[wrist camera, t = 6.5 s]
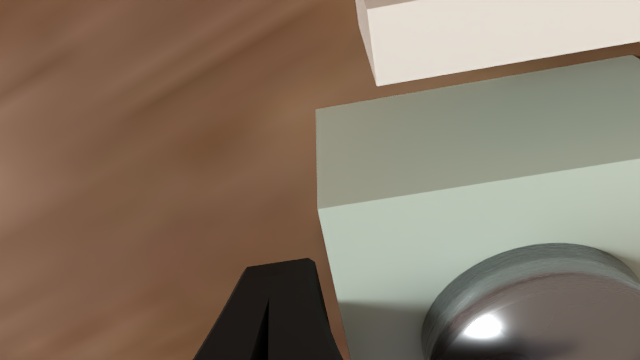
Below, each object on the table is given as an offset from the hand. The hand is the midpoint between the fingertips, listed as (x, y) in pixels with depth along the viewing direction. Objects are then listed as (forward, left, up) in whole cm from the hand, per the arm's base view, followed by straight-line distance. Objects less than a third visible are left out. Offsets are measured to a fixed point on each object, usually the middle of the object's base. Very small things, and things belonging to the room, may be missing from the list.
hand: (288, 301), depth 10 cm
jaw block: (0, -4, -2) cm, 5 cm away
